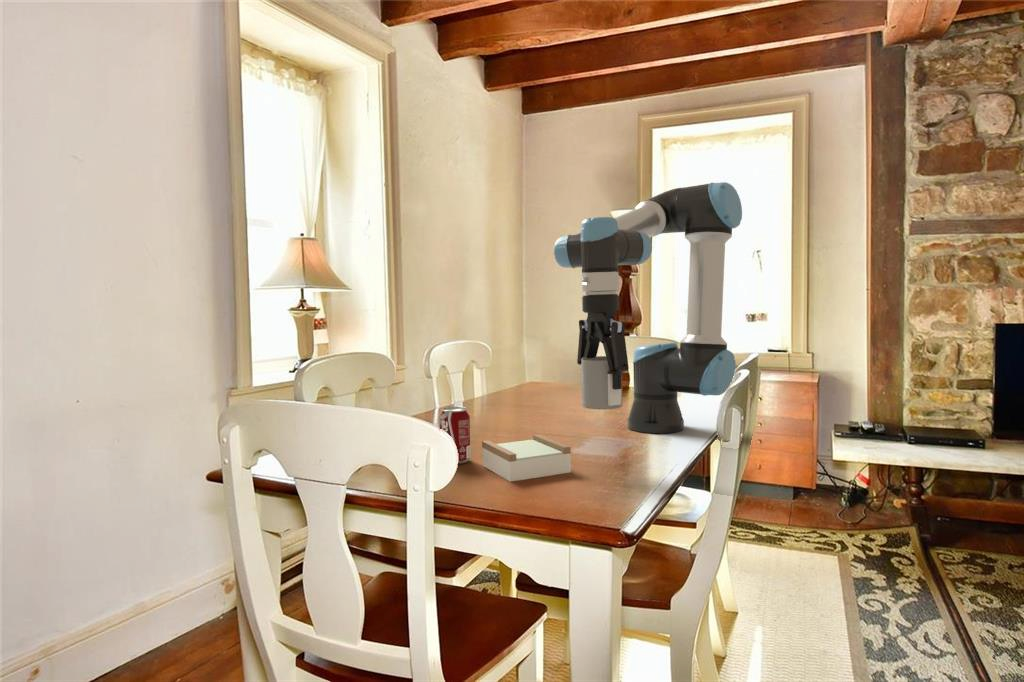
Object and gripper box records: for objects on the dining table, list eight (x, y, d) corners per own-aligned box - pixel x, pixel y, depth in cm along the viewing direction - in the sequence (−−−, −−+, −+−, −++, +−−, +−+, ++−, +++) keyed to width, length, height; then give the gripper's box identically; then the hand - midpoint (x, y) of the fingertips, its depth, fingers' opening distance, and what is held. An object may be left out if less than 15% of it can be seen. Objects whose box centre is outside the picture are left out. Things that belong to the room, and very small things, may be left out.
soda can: (475, 459, 146) (474, 406, 145) (463, 466, 140) (462, 412, 139) (448, 457, 148) (446, 405, 147) (435, 464, 142) (433, 410, 141)
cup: (621, 409, 130) (620, 360, 129) (580, 409, 132) (579, 361, 131) (622, 402, 138) (622, 356, 138) (584, 402, 140) (583, 356, 139)
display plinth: (539, 457, 146) (538, 434, 146) (570, 472, 134) (570, 446, 133) (482, 465, 140) (481, 441, 140) (509, 481, 128) (509, 454, 127)
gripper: (559, 294, 141) (561, 396, 143) (614, 293, 122) (616, 411, 124) (588, 293, 144) (590, 393, 146) (646, 292, 125) (648, 407, 127)
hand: (602, 401), depth 135 cm, fingers closed on cup, 8 cm apart
